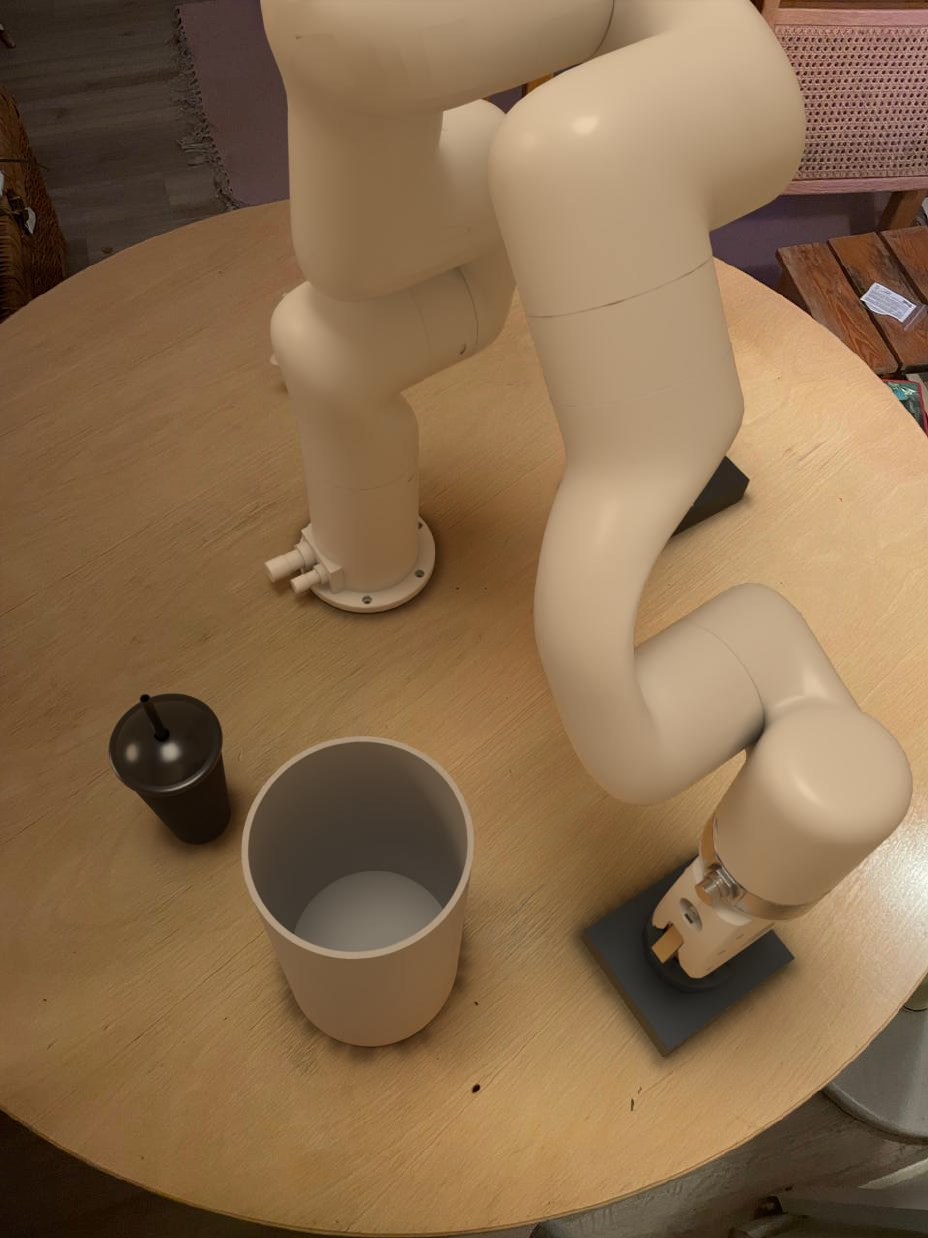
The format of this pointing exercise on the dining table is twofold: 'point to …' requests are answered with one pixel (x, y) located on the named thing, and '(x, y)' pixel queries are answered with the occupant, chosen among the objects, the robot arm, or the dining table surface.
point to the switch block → (673, 969)
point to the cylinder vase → (362, 884)
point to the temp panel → (716, 494)
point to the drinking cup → (174, 763)
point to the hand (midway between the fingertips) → (697, 938)
